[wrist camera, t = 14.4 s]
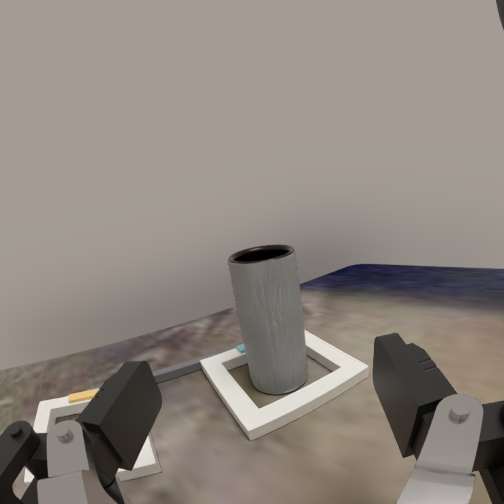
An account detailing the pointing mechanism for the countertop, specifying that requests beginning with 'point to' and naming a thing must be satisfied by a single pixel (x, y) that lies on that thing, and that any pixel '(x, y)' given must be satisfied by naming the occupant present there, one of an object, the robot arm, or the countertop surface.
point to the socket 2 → (293, 405)
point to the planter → (270, 316)
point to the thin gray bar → (181, 367)
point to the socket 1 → (76, 404)
